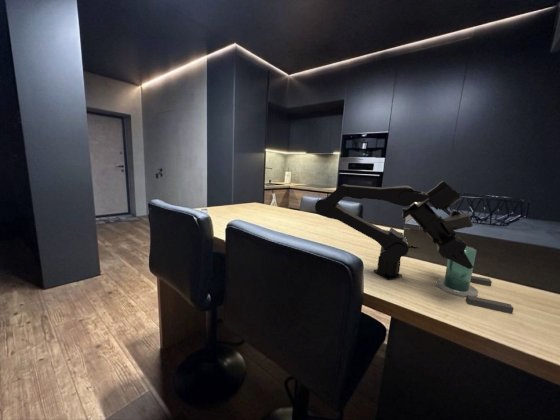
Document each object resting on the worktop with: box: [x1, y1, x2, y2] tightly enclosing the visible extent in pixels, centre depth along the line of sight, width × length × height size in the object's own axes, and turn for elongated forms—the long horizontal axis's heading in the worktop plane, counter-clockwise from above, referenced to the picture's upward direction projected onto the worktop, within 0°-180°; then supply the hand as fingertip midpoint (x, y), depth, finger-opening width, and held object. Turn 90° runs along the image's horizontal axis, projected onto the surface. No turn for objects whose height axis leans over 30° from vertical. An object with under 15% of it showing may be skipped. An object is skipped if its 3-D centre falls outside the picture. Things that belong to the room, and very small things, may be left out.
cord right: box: [465, 295, 514, 314], centre depth 62 cm, size 9×2×2 cm, turn 64°
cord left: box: [470, 275, 493, 287], centre depth 75 cm, size 9×2×2 cm, turn 64°
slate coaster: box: [435, 277, 479, 298], centre depth 71 cm, size 10×10×1 cm
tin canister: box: [444, 245, 477, 292], centre depth 69 cm, size 6×6×12 cm
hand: (466, 261), depth 68 cm, fingers open, 9 cm apart
